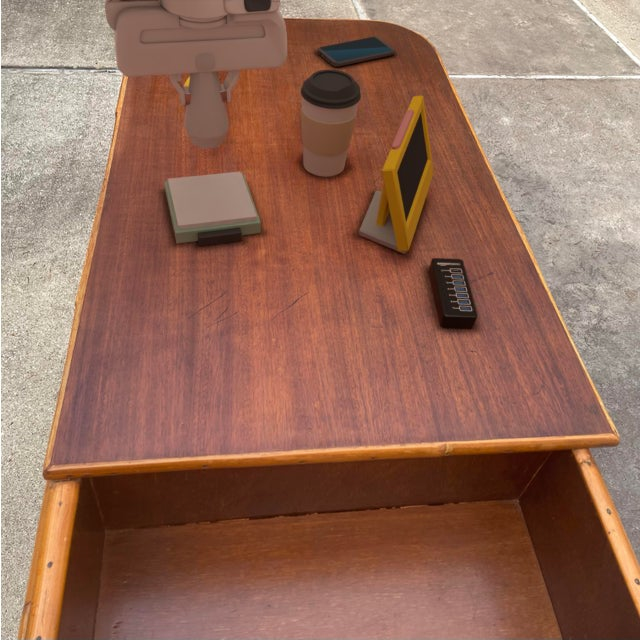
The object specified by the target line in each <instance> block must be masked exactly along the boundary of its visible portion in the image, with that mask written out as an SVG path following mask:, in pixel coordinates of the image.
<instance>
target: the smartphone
mask: <svg viewBox="0 0 640 640" xmlns="http://www.w3.org/2000/svg"><path fill="white" fill-rule="evenodd" d="M317 54H318V55H319V56H320V57H321V58H322V59H324V60H325V61H326V62H327V63H328V64H329V65H331V66H333V67H334V68H339V67H343V66H349V65H354V64H357V63H363V62H366V61H367V62H368V61H372V60H376V59H381V58H386V57H391V56H393V55H394V54H395V49H394V48H393V47H391V46H390V45H389V44H387V43H386V42H385V41H383V40H382V39H381V38H380V37H377V36H370V37H369V36H368V37H363V38H360V39H355V40H350V41H343V42H338V43H334V44H329V45H328V44H327V45H324V46H319V47H318V48H317Z"/></svg>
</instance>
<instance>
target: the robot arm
mask: <svg viewBox="0 0 640 640" xmlns="http://www.w3.org/2000/svg"><path fill="white" fill-rule="evenodd" d="M280 6H281V0H105V3H104V11H105V18H106V22H107V24H108V26H109V28H110V29H111V30H112V31H113V36H114V37H113V39H114V41H113V42H114V52H115V59H116V67H117V69H118V71H119V72H120V73H121V74H122V75H123V76H125V77H127V78H132V77H133V78H134V77H136V78H137V77H148V76H150V77H151V76H166V75H167V76H168V79H169V83H170V84H171V85H172V86H173V88H174V89H175V91H177V93H178V98H179V103H180V106H181V107H184V106H185V107H186V105H190V101H191V94H192V93H190V92H189V86H184V84H183V83H182V80H183V79H182V75H183V74H184V75H185V74H190V73H201V72H217V71H218V72H226V77H225V78H224V81H223V82H222V83H220V84H221V89H222V90H221V91H220V93H221V97H222V101H223V103H225V104H226V103H232V91H233V89H234V87H235V86H236V85H237V83H238V81H239V79H240V71H248V70H249V71H250V70H267V69H280V68H282V66H284V64H285V63H286V62H287V60H288V34H287V33H288V32H287V26H286V21H285V18H284V16H283V15H282V13H281V11H280ZM203 53H208V54H213V55H214V58H215V68H214V69H211V70H197V68H196V65H195V59H196V56H197V55H199V54H203Z"/></svg>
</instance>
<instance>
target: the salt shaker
mask: <svg viewBox="0 0 640 640" xmlns="http://www.w3.org/2000/svg"><path fill="white" fill-rule="evenodd" d="M195 65H196V68H197V70H211V69H214V68H215V58H214V55H213V54H208V53H203V54H199V55H197V56H196V59H195ZM189 77H190V81H189V92H190V93H192V94H191V101H190V105H186V106H185V112H184V121H183V126H184V130H185V132H186V134H187V136H188V138H189V140H190V141H191V143H192V145H193V146H195V147H198V148H200V149H202V150H211V149H218V148H219V147H220V146H221V145H222V143H223V142H224V141H225V139H226V136H227V135H228V132H229V130H230V124H231V123H230V120H229V115H228V111H227V107H226V103H223V101H222V97H221V93H220V91H221V90H222V89H221V84H222V83H221V80H220V76H219V71H217V72H201V73H189Z"/></svg>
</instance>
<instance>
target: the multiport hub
mask: <svg viewBox="0 0 640 640" xmlns="http://www.w3.org/2000/svg"><path fill="white" fill-rule="evenodd" d="M430 260H431V261H430V264H429V267H428V277H429V281H430V286H431V290H432V295H433V300H434V303H435V309H436V314H437V318H438V324H439V327H440V328H442V329H451V330H452V329H455V330H456V329H458V330H472V329H474V326H475V323H476V321H477V319H478V316H479V314H478V311H477V308H476V304H475V300H474V297H473V292H472V288H471V285H470V282H469V278H468V274H467V271H466V267H465V262H464V261H463V259H461V258H445V257H444V258H443V257H433V258H432V259H430Z"/></svg>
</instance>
